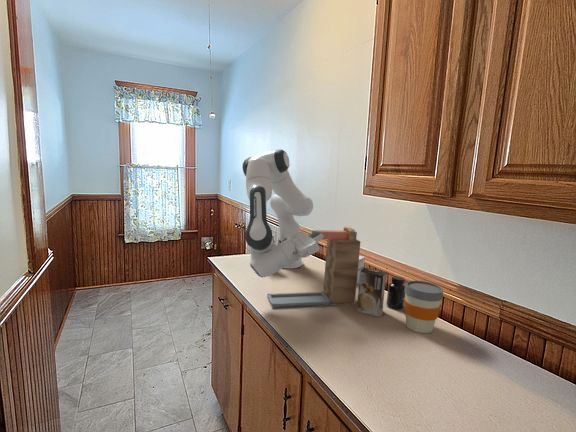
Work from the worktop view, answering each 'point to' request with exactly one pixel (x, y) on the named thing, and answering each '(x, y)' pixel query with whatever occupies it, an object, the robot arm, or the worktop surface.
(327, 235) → the bar
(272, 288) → the worktop surface
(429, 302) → the reusable coffee cup
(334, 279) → the tall wooden block
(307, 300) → the tray
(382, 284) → the coffee box
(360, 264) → the supplement box
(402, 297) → the supplement bottle
